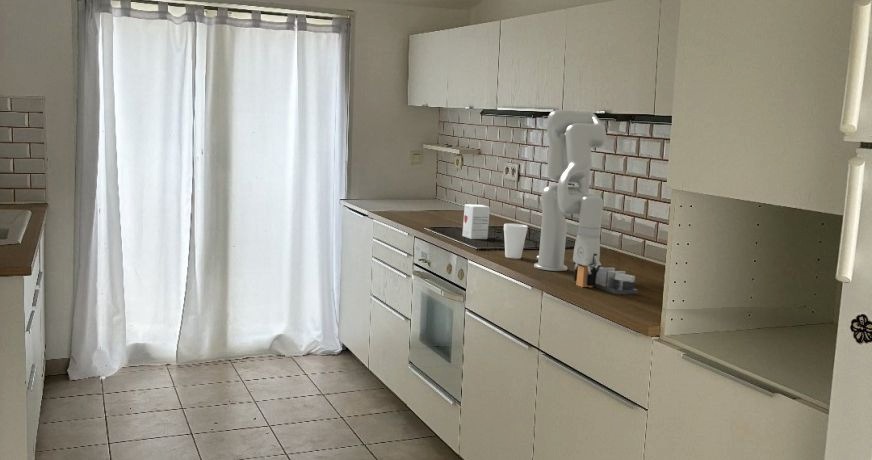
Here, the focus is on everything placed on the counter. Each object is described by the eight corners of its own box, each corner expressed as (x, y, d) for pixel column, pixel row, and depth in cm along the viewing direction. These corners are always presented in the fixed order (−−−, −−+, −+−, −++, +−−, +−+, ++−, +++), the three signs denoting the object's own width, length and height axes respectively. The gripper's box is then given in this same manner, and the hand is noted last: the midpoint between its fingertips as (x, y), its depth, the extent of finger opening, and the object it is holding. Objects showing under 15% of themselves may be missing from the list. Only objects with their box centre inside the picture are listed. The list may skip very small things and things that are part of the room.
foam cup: (523, 259, 358) (526, 227, 357) (500, 257, 360) (502, 225, 358) (525, 256, 367) (528, 225, 366) (503, 254, 369) (505, 222, 368)
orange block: (576, 285, 311) (578, 265, 310) (586, 285, 312) (587, 265, 311) (582, 287, 307) (584, 267, 306) (592, 287, 309) (594, 267, 308)
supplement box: (461, 236, 416) (464, 203, 414) (478, 236, 420) (481, 204, 418) (470, 239, 408) (473, 206, 406) (488, 239, 412) (490, 206, 410)
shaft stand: (582, 282, 316) (584, 264, 316) (604, 282, 320) (605, 264, 319) (614, 294, 298) (616, 275, 297) (637, 294, 302) (639, 275, 301)
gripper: (566, 228, 314) (562, 278, 316) (593, 235, 298) (588, 288, 300) (585, 228, 317) (580, 278, 319) (612, 236, 301) (607, 288, 303)
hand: (584, 282), depth 310 cm, fingers open, 7 cm apart
